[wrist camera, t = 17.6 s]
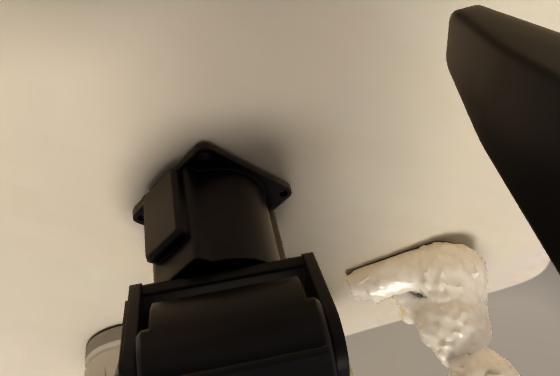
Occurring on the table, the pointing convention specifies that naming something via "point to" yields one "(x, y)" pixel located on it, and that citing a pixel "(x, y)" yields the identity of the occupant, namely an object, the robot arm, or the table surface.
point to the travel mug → (103, 353)
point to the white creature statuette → (439, 303)
